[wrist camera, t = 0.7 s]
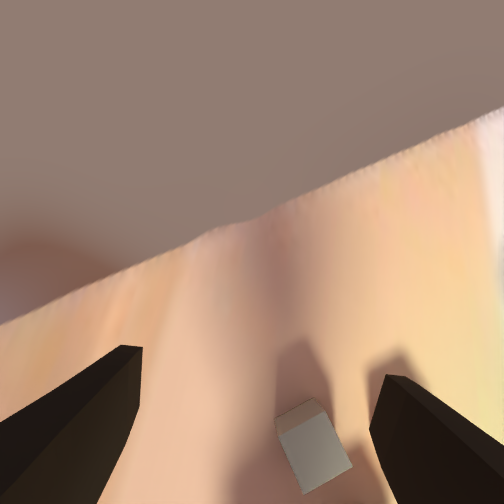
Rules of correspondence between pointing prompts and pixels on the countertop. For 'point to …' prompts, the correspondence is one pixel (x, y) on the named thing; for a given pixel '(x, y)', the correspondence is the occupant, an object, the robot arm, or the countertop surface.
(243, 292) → the countertop surface
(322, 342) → the countertop surface
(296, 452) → the slate block
